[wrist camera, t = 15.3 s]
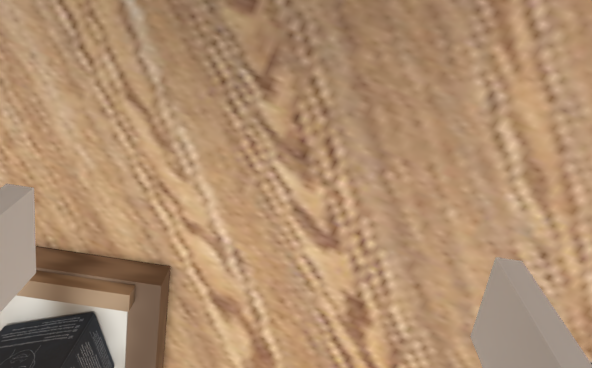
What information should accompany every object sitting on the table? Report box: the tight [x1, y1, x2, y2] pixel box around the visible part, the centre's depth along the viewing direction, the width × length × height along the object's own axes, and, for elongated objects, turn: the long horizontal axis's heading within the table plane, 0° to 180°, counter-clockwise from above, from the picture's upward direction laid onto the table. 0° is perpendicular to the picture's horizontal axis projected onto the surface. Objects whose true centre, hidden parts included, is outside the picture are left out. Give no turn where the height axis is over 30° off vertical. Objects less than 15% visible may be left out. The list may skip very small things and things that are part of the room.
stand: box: [0, 247, 170, 368], centre depth 47 cm, size 16×14×4 cm
